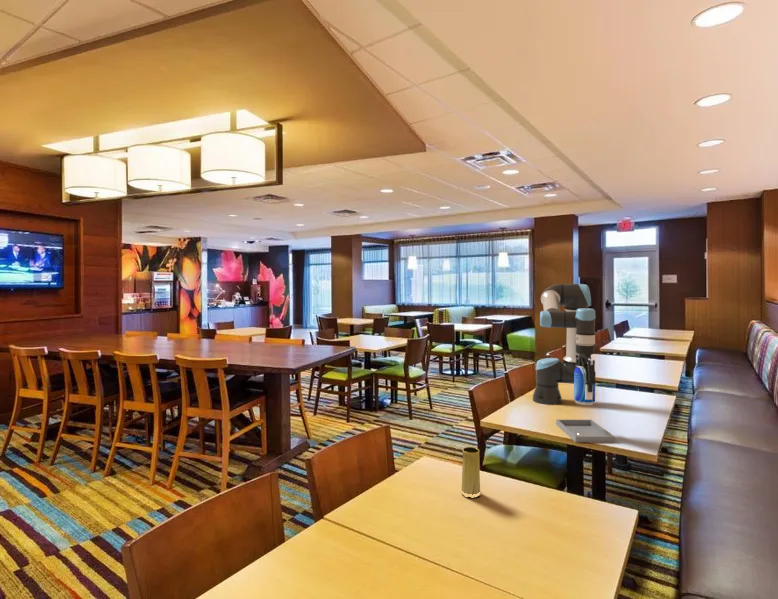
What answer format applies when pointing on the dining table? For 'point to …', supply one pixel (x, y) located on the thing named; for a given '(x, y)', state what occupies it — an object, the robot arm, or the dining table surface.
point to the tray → (585, 431)
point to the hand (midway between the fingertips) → (584, 396)
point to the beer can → (581, 386)
